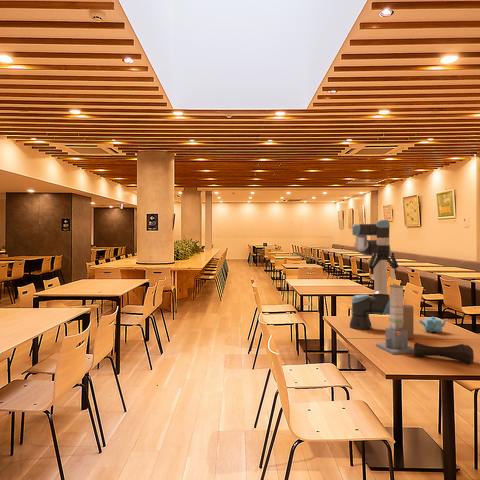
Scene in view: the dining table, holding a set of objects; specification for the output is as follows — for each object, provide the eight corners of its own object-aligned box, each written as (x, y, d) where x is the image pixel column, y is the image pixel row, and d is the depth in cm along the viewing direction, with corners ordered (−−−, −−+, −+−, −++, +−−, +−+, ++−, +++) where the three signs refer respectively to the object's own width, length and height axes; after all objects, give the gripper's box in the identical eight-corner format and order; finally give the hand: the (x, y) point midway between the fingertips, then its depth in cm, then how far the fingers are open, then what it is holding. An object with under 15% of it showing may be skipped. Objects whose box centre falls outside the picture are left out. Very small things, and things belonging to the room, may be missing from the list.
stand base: (376, 346, 220) (376, 326, 220) (399, 344, 223) (399, 325, 223) (392, 354, 204) (392, 333, 204) (418, 352, 208) (418, 331, 208)
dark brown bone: (475, 367, 190) (415, 364, 204) (472, 346, 195) (414, 345, 208) (475, 362, 182) (413, 360, 195) (472, 340, 187) (411, 340, 200)
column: (388, 331, 216) (388, 285, 216) (397, 330, 217) (397, 284, 217) (395, 333, 210) (395, 286, 210) (404, 333, 211) (404, 286, 211)
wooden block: (413, 336, 242) (413, 305, 242) (413, 339, 233) (413, 308, 233) (396, 334, 247) (396, 304, 247) (396, 338, 238) (396, 306, 238)
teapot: (420, 333, 250) (420, 318, 250) (417, 328, 263) (417, 314, 263) (450, 335, 245) (450, 319, 245) (445, 330, 258) (445, 315, 258)
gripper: (368, 245, 223) (368, 280, 223) (404, 244, 228) (404, 279, 229) (361, 245, 230) (361, 279, 230) (396, 244, 236) (396, 278, 236)
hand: (383, 279), depth 230 cm, fingers open, 13 cm apart
